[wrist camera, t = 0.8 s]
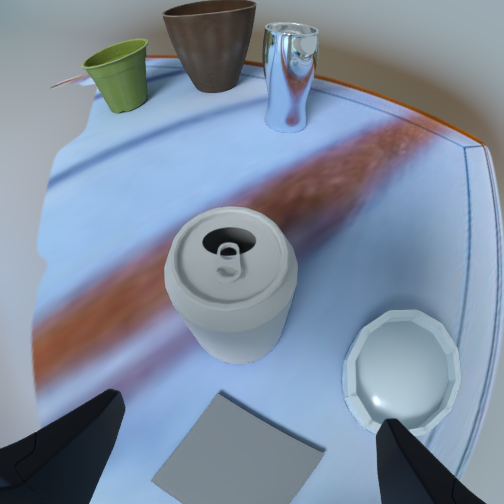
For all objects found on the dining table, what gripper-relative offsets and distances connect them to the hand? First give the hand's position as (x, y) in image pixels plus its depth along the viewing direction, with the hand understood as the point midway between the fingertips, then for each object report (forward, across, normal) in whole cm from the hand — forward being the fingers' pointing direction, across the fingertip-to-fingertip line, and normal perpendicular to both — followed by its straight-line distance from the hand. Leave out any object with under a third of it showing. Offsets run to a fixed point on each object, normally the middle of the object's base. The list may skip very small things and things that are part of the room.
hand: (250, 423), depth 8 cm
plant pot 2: (+48, +12, -20) cm, 54 cm away
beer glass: (+39, -1, -13) cm, 41 cm away
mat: (+6, +1, +14) cm, 16 cm away
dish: (+12, -13, +9) cm, 20 cm away
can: (+16, +2, +6) cm, 17 cm away
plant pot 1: (+44, +28, -17) cm, 54 cm away
